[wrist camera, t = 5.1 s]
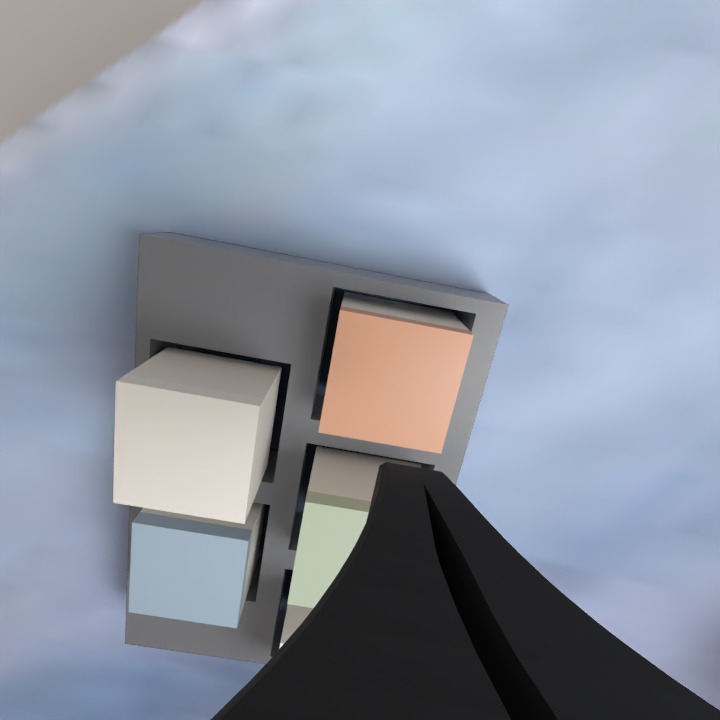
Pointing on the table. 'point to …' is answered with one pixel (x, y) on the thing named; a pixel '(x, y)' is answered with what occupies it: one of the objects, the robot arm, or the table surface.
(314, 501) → the sage key
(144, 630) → the keypad board
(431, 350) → the terracotta key
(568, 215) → the table surface
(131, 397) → the cream key
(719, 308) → the table surface
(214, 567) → the blue key
